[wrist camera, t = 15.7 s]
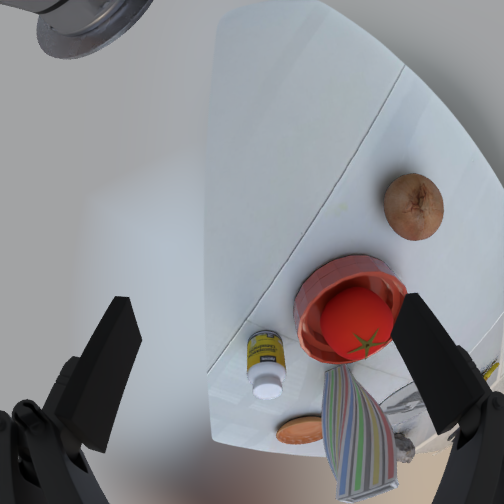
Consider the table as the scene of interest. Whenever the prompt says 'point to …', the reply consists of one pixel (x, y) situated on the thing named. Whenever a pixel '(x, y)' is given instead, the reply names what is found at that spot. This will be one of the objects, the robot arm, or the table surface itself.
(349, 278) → the red bowl
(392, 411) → the plate
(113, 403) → the robot arm
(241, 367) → the table surface
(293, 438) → the saucer
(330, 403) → the vase
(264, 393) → the pill bottle
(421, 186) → the onion
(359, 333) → the tomato
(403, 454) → the rock
